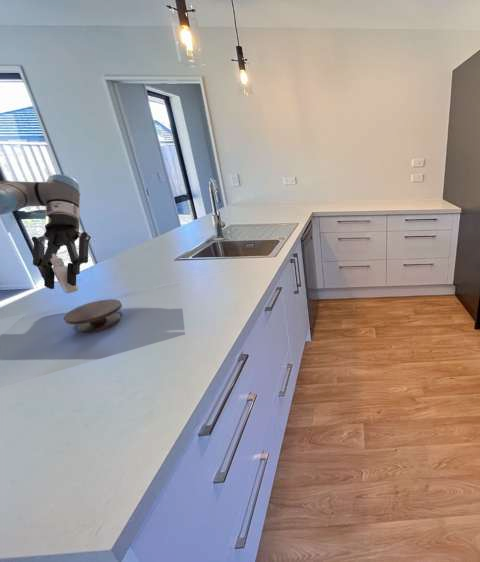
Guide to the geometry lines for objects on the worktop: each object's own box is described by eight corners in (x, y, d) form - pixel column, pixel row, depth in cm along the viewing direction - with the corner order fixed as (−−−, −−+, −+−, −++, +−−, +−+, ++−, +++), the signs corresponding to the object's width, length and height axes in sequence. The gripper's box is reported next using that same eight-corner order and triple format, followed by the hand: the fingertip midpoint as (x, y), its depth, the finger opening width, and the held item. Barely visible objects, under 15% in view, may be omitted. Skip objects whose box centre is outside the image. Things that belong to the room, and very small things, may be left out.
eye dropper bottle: (58, 295, 90) (38, 258, 85) (65, 288, 95) (48, 252, 90) (76, 292, 92) (58, 255, 87) (83, 285, 96) (67, 250, 92)
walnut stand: (66, 341, 83) (57, 326, 80) (76, 321, 93) (69, 307, 90) (124, 326, 89) (118, 312, 87) (128, 308, 99) (123, 295, 97)
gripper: (17, 215, 89) (10, 286, 82) (90, 209, 96) (90, 275, 89) (35, 228, 96) (31, 295, 89) (103, 222, 102) (103, 285, 95)
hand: (60, 285), depth 89 cm, fingers closed on eye dropper bottle, 4 cm apart
